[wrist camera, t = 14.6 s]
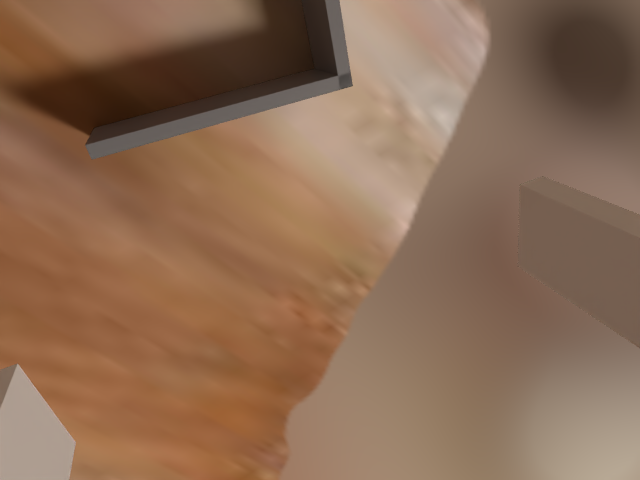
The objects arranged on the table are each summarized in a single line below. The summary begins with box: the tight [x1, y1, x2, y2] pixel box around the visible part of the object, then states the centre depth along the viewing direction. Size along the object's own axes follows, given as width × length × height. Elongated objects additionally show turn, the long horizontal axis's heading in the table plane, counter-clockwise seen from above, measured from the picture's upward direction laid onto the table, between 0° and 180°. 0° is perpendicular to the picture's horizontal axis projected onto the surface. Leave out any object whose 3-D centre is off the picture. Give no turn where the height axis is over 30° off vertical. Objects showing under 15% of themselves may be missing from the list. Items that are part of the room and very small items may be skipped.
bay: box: [85, 0, 353, 159], centre depth 31 cm, size 19×13×6 cm
